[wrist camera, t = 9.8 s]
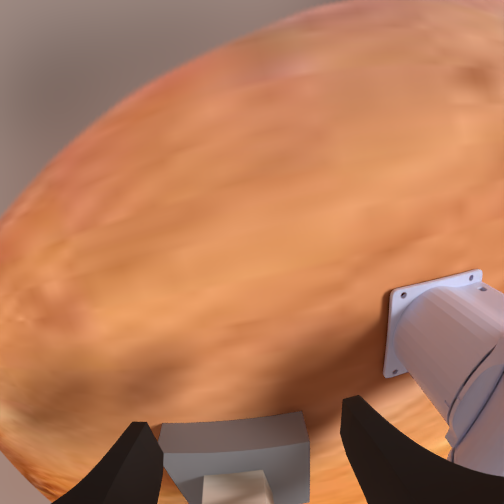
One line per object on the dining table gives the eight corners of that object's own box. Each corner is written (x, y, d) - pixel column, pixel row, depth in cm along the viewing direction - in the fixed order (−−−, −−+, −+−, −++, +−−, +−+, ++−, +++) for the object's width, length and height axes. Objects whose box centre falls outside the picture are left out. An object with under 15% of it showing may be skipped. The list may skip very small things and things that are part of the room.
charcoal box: (301, 407, 23) (309, 441, 19) (303, 474, 26) (309, 502, 22) (163, 419, 22) (155, 452, 19) (197, 484, 26) (194, 511, 22)
